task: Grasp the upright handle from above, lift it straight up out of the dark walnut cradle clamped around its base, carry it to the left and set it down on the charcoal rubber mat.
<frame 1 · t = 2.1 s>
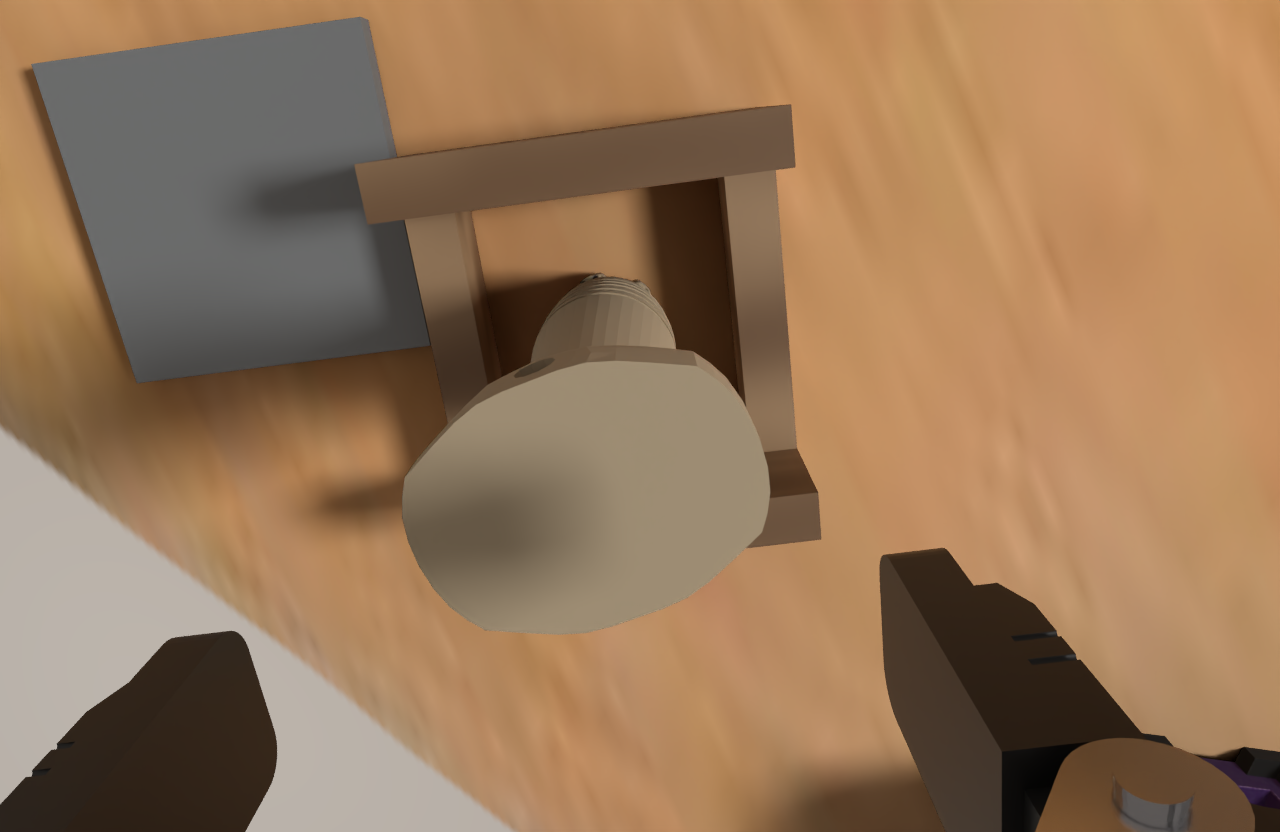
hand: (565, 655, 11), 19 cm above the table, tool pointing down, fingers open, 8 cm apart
mat: (251, 209, 28), on the table
handle: (611, 316, 30), resting in cradle
cradle: (611, 317, 29), on the table
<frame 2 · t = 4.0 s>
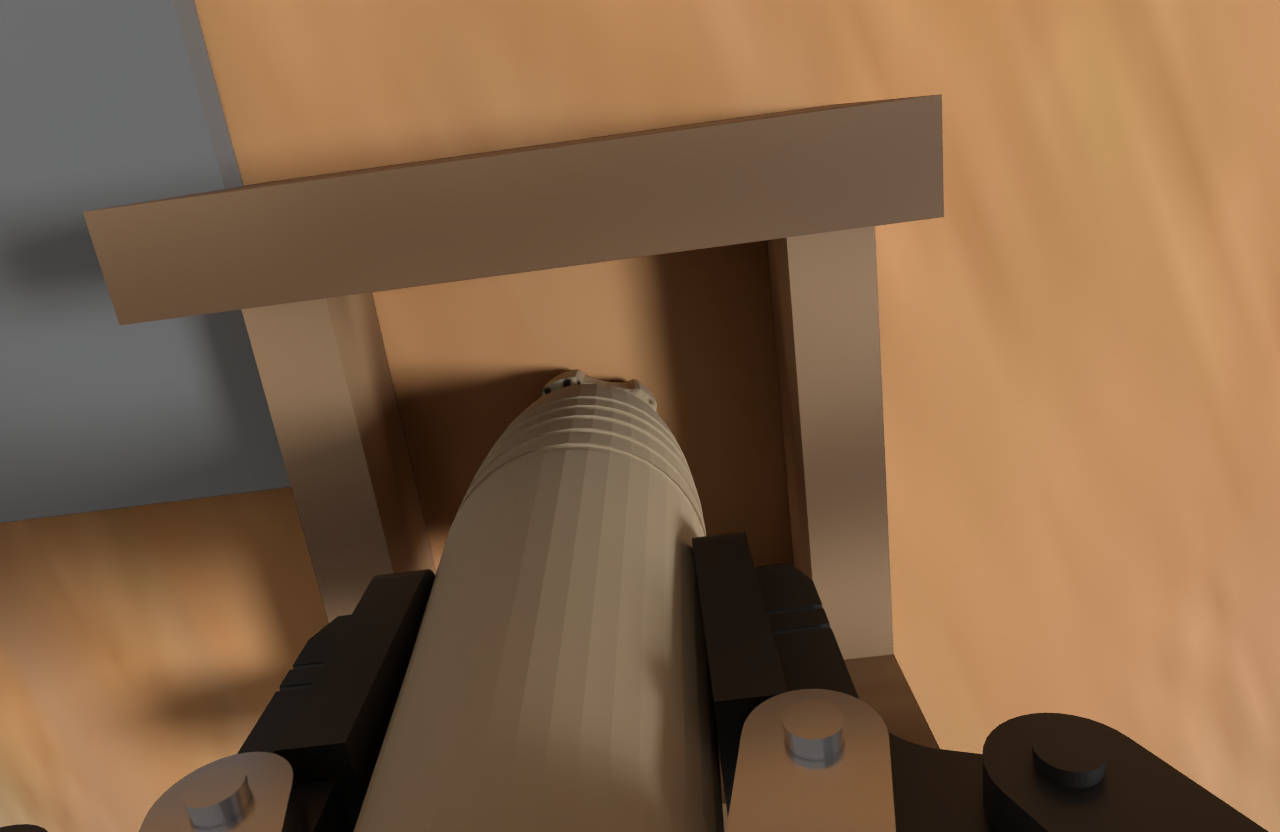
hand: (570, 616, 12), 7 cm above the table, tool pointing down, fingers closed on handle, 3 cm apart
mat: (12, 270, 17), on the table
handle: (594, 432, 19), resting in cradle, touching gripper
cradle: (594, 435, 19), on the table
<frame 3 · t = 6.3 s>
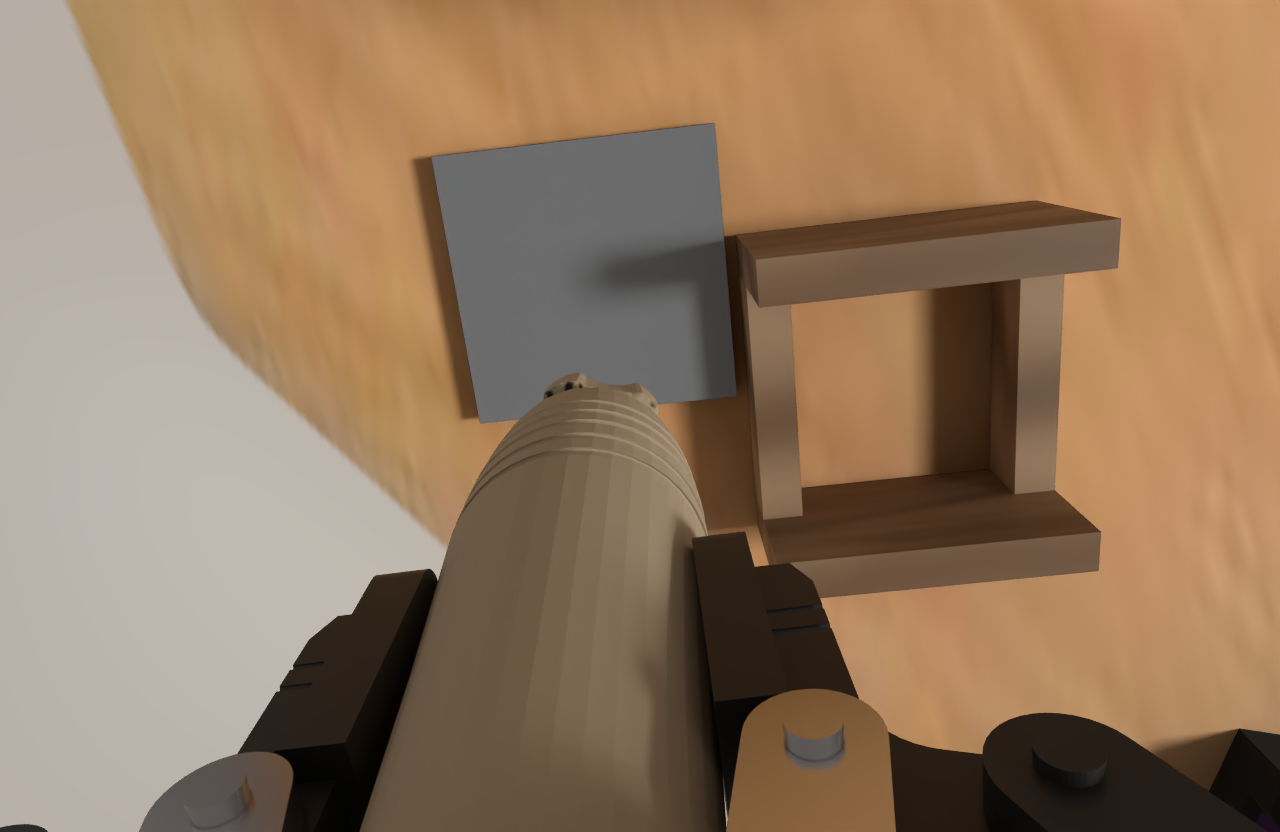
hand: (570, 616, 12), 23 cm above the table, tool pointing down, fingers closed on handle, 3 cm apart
mat: (592, 278, 33), on the table
handle: (596, 435, 19), point 15 cm above the table, touching gripper
cradle: (888, 373, 34), on the table
when the fingers open (8 cm above the table, at t = 9.0 s): handle stays where it is, resting on mat.
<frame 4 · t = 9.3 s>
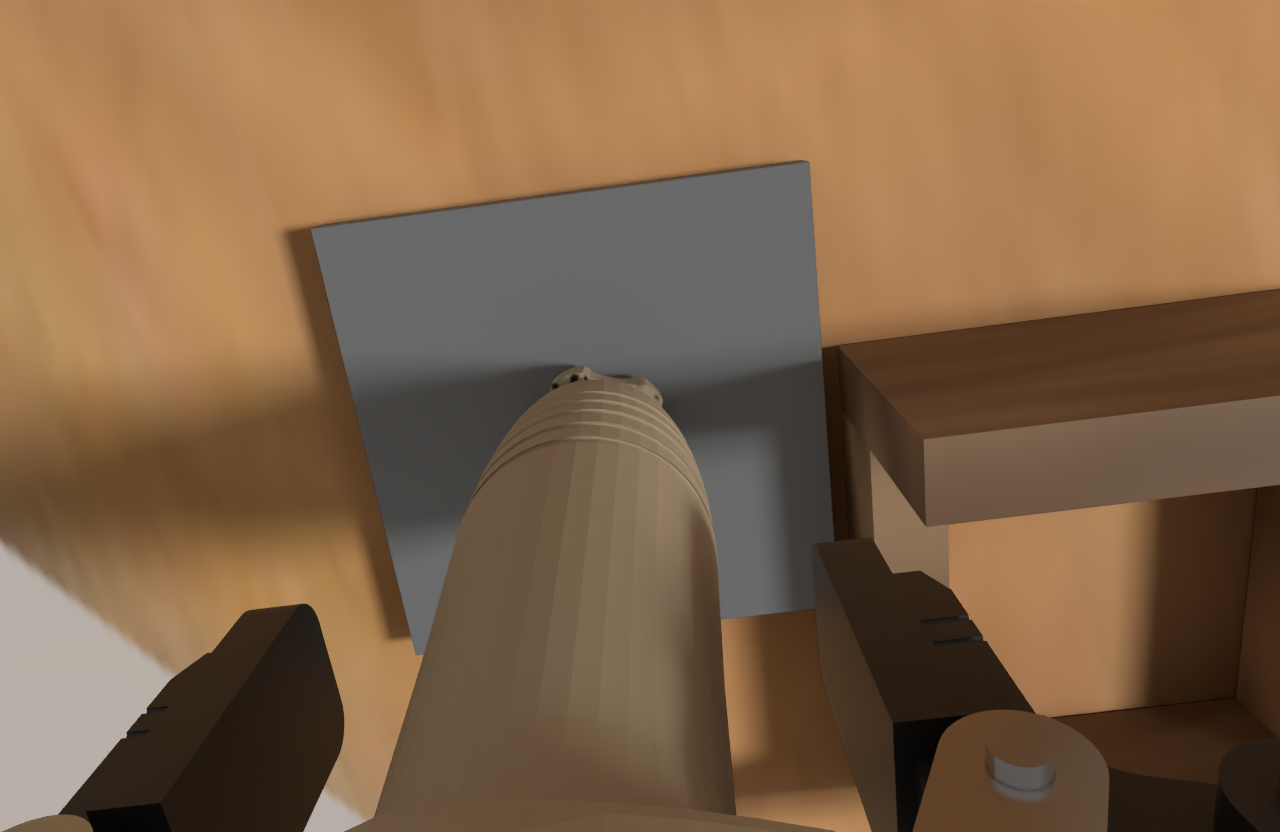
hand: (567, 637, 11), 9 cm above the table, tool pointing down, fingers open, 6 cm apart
mat: (595, 419, 20), on the table
handle: (600, 427, 19), point 1 cm above the table, touching mat
cradle: (1082, 558, 21), on the table
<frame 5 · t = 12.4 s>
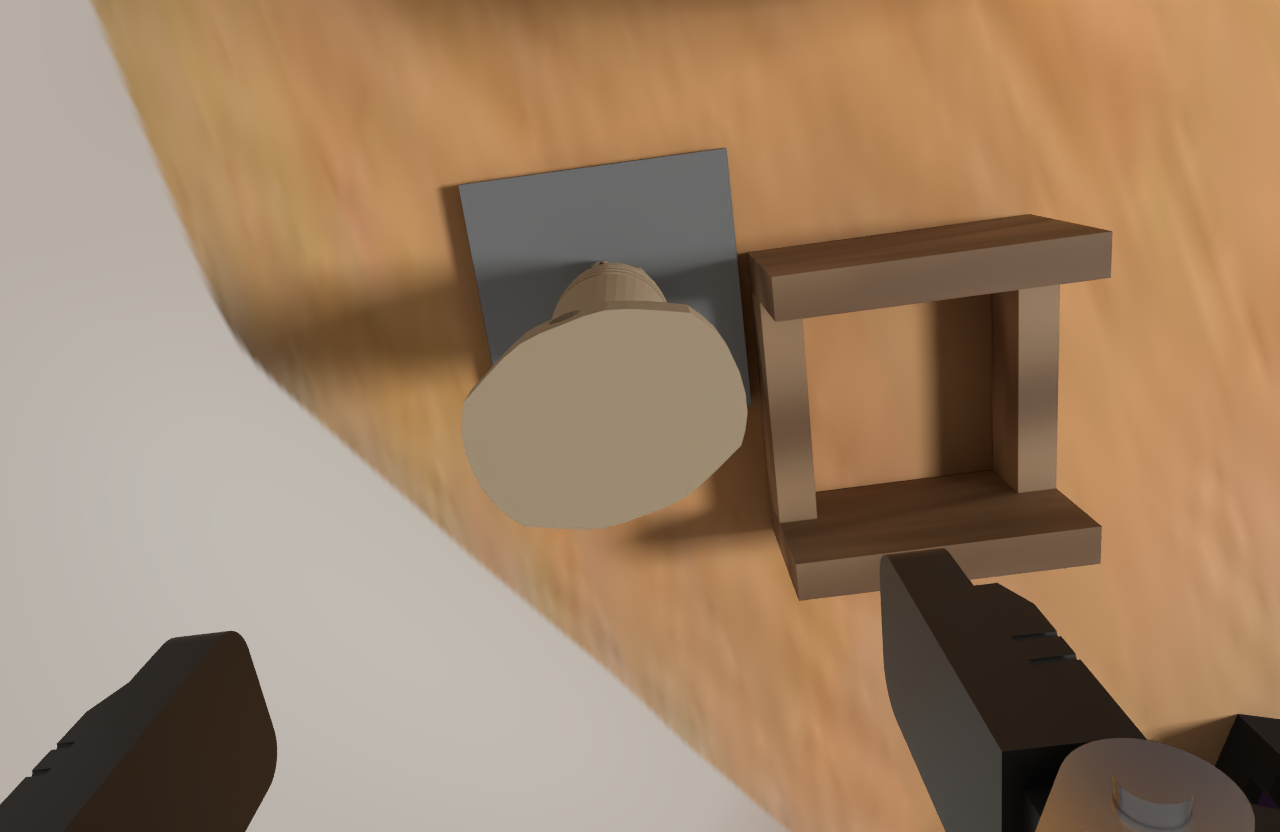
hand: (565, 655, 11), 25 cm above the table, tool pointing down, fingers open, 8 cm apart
mat: (611, 296, 35), on the table
handle: (614, 298, 34), point 1 cm above the table, touching mat
cradle: (894, 380, 36), on the table
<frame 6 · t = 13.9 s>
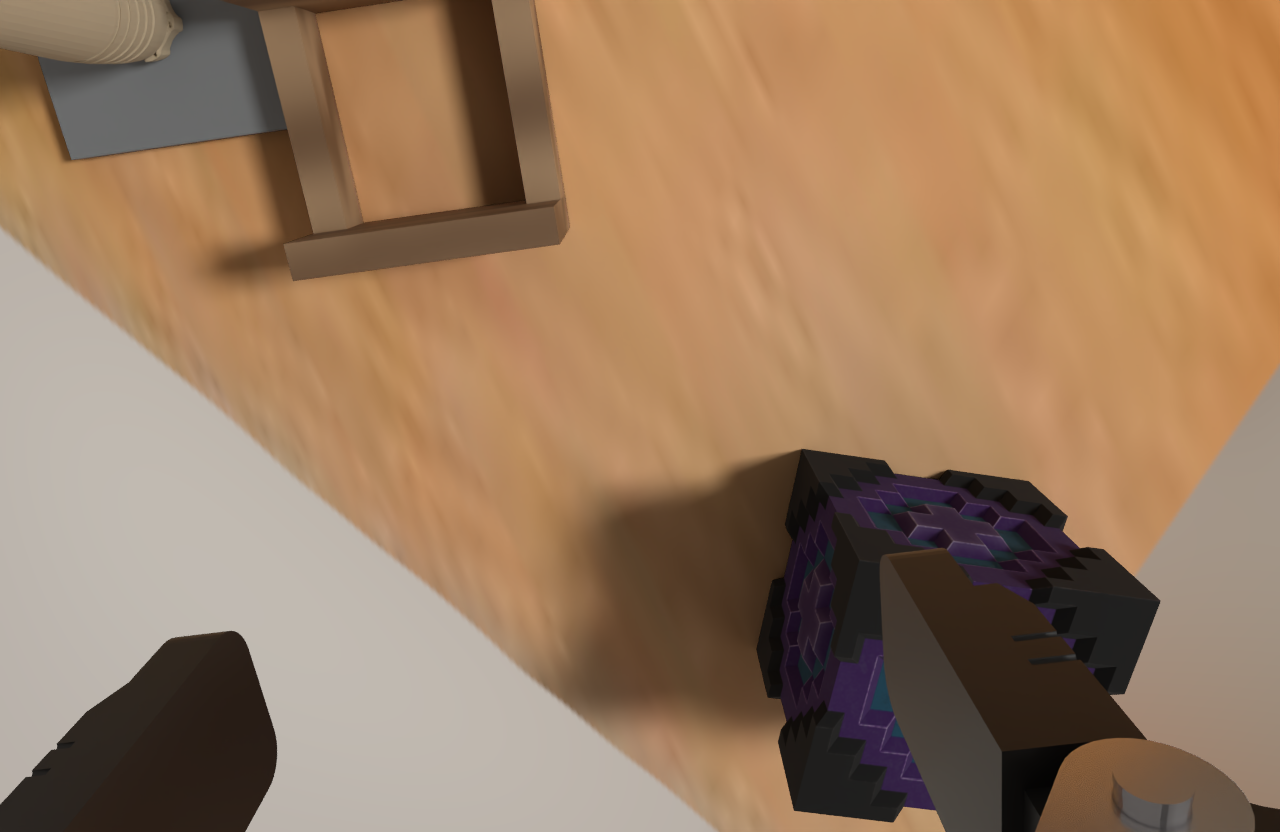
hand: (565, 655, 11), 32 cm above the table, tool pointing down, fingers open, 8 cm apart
mat: (154, 24, 38), on the table
handle: (150, 22, 37), point 1 cm above the table, touching mat
energy cube: (886, 565, 47), on the table
cradle: (427, 109, 39), on the table
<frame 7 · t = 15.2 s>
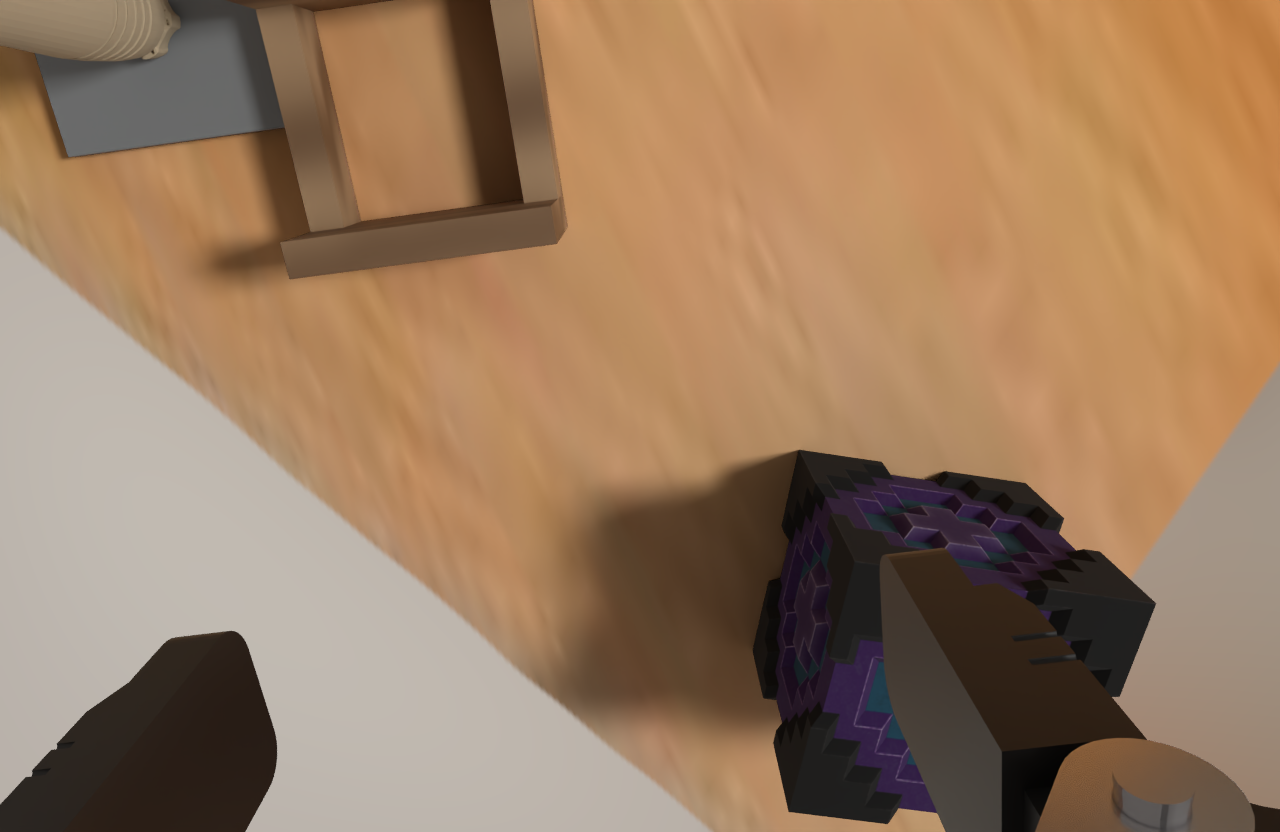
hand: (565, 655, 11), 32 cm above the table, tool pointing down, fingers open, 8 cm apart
mat: (152, 21, 38), on the table
handle: (148, 19, 37), point 1 cm above the table, touching mat
energy cube: (883, 567, 47), on the table
cradle: (425, 108, 39), on the table
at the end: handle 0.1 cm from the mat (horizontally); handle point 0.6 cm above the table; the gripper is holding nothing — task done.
